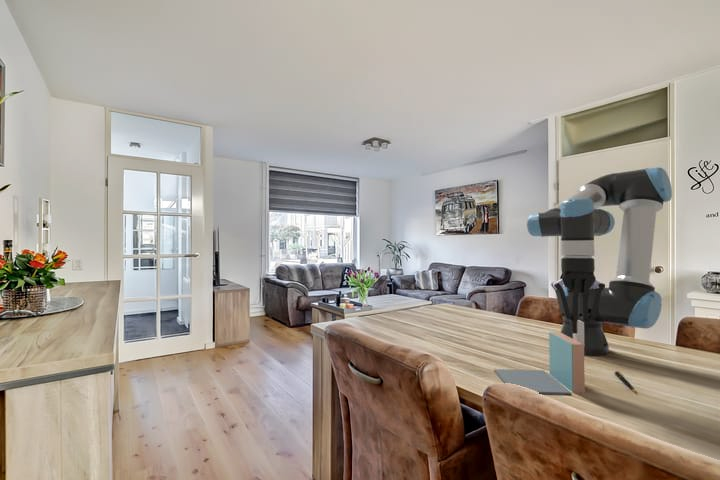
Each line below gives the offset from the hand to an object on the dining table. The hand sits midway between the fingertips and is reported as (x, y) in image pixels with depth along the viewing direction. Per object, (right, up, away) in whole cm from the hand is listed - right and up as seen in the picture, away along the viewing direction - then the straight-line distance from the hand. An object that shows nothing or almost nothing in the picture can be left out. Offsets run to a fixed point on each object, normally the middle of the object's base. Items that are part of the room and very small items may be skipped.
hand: (578, 345), depth 92 cm
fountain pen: (+12, -10, 0) cm, 16 cm away
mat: (-13, -10, +1) cm, 16 cm away
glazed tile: (-3, -10, 0) cm, 11 cm away
